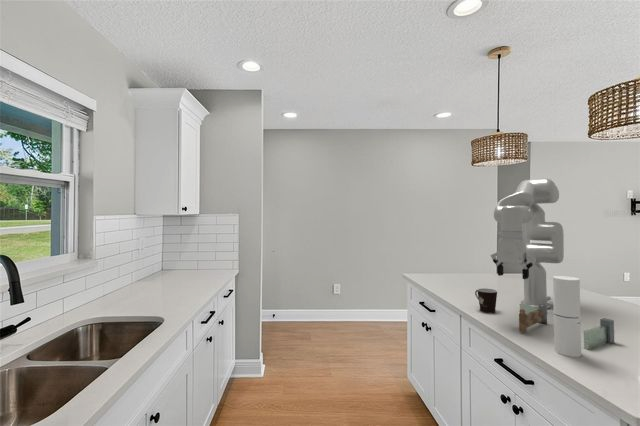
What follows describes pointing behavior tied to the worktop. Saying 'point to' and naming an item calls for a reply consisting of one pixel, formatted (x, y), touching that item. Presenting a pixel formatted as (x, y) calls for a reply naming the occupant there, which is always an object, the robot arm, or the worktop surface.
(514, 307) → the worktop surface
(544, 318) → the hinge post
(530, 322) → the gate
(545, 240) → the robot arm
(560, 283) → the cylindrical container
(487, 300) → the coffee mug
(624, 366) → the worktop surface
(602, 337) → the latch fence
